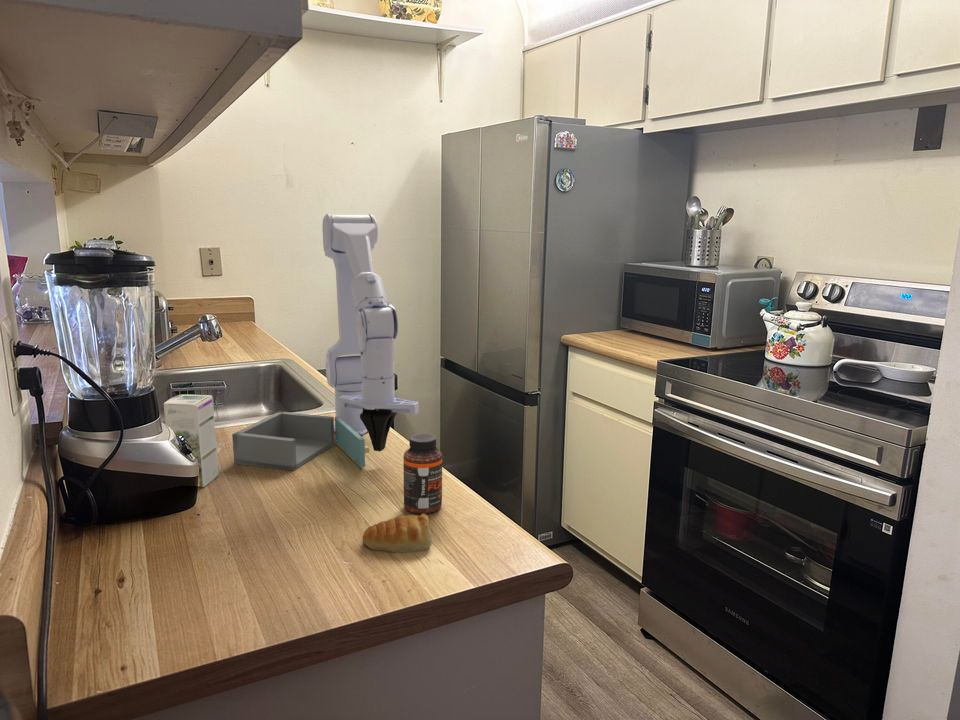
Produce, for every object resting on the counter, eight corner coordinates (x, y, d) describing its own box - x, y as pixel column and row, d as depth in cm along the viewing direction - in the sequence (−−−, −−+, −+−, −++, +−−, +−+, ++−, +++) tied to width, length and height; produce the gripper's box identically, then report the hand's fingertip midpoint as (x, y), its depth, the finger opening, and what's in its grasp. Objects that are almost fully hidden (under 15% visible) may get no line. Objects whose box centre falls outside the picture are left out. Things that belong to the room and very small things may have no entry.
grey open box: (280, 437, 136) (279, 411, 135) (334, 443, 133) (333, 416, 131) (234, 463, 122) (232, 434, 121) (293, 471, 119) (291, 441, 117)
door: (335, 442, 132) (334, 416, 131) (344, 440, 133) (343, 415, 132) (360, 467, 119) (360, 439, 118) (371, 466, 120) (370, 438, 119)
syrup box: (220, 475, 116) (214, 393, 113) (203, 489, 111) (196, 403, 107) (188, 473, 117) (181, 392, 114) (169, 487, 111) (162, 402, 108)
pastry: (363, 558, 89) (363, 531, 89) (362, 535, 96) (361, 510, 95) (434, 552, 91) (434, 525, 90) (428, 530, 98) (427, 505, 97)
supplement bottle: (433, 518, 101) (433, 445, 98) (397, 512, 103) (395, 441, 100) (448, 502, 106) (448, 433, 104) (413, 497, 108) (412, 429, 106)
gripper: (329, 377, 117) (332, 452, 120) (407, 384, 113) (408, 461, 116) (348, 368, 123) (350, 439, 126) (422, 374, 119) (423, 448, 122)
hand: (379, 449), depth 121 cm, fingers closed
